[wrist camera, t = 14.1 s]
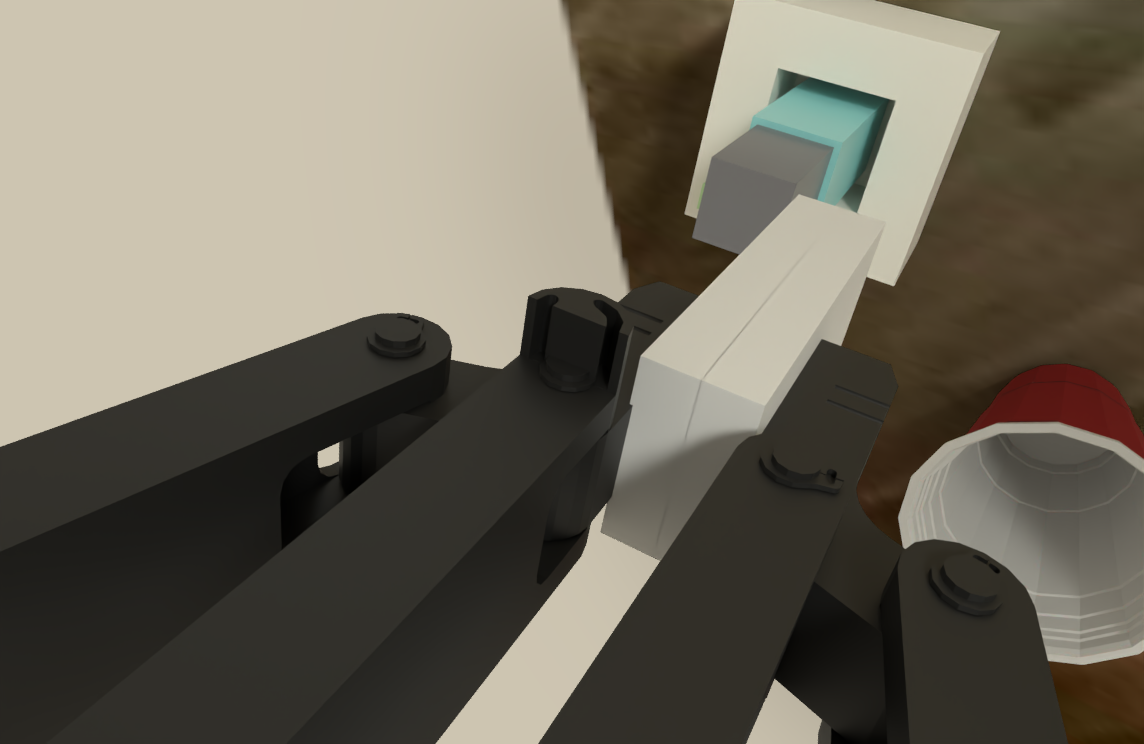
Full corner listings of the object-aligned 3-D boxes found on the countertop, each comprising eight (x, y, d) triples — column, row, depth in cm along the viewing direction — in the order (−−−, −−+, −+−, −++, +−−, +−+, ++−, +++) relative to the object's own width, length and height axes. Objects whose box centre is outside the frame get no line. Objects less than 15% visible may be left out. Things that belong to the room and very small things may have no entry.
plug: (814, 73, 42) (706, 147, 31) (891, 94, 41) (805, 179, 30) (793, 147, 44) (683, 241, 33) (865, 169, 43) (776, 274, 32)
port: (779, -24, 43) (734, -9, 38) (1000, 31, 39) (983, 54, 35) (727, 180, 48) (682, 216, 43) (917, 242, 45) (892, 288, 40)
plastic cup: (1076, 264, 42) (1063, 378, 33) (1246, 434, 42) (1282, 598, 32) (894, 392, 49) (840, 517, 40) (1039, 539, 49) (1019, 700, 39)
